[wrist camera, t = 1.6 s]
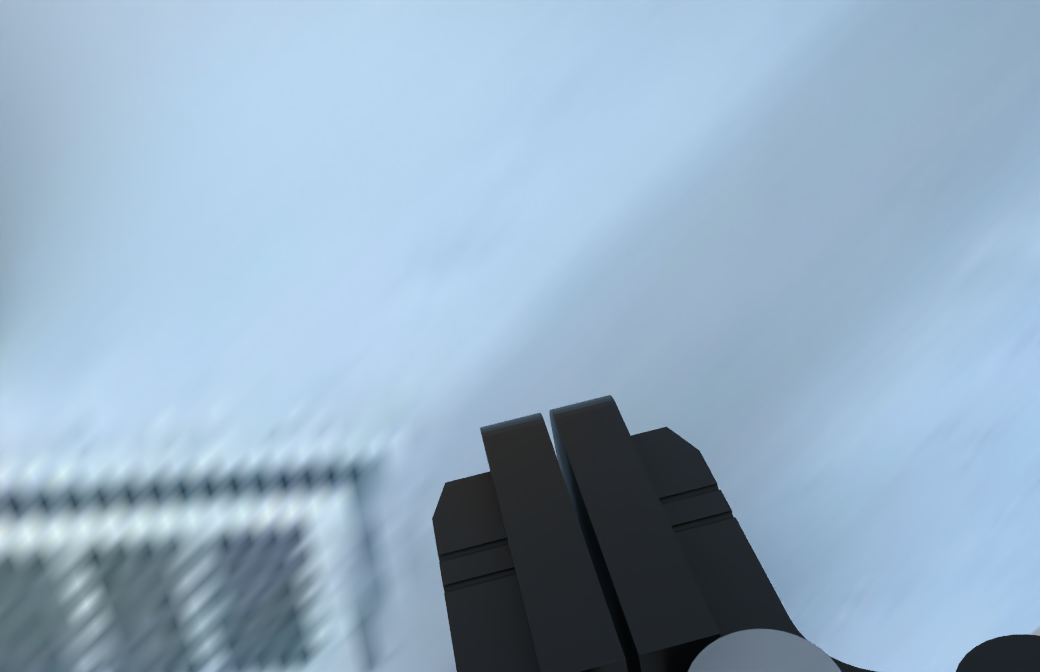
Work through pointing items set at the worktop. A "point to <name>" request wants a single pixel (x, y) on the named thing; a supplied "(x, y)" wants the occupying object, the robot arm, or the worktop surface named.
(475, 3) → the worktop surface
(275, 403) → the worktop surface
